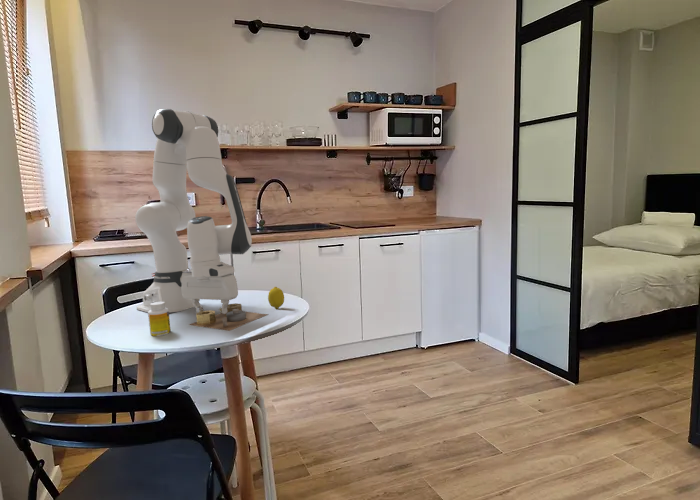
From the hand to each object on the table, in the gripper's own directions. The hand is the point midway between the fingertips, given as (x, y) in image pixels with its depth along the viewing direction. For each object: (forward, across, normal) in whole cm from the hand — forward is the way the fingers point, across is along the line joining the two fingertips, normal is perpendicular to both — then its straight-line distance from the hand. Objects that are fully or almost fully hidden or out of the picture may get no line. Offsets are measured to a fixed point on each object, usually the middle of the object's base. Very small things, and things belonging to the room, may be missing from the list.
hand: (211, 312), depth 143 cm
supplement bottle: (+4, -7, -14) cm, 16 cm away
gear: (+3, -2, -1) cm, 3 cm away
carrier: (+4, +3, +4) cm, 7 cm away
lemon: (+5, +8, +23) cm, 25 cm away
